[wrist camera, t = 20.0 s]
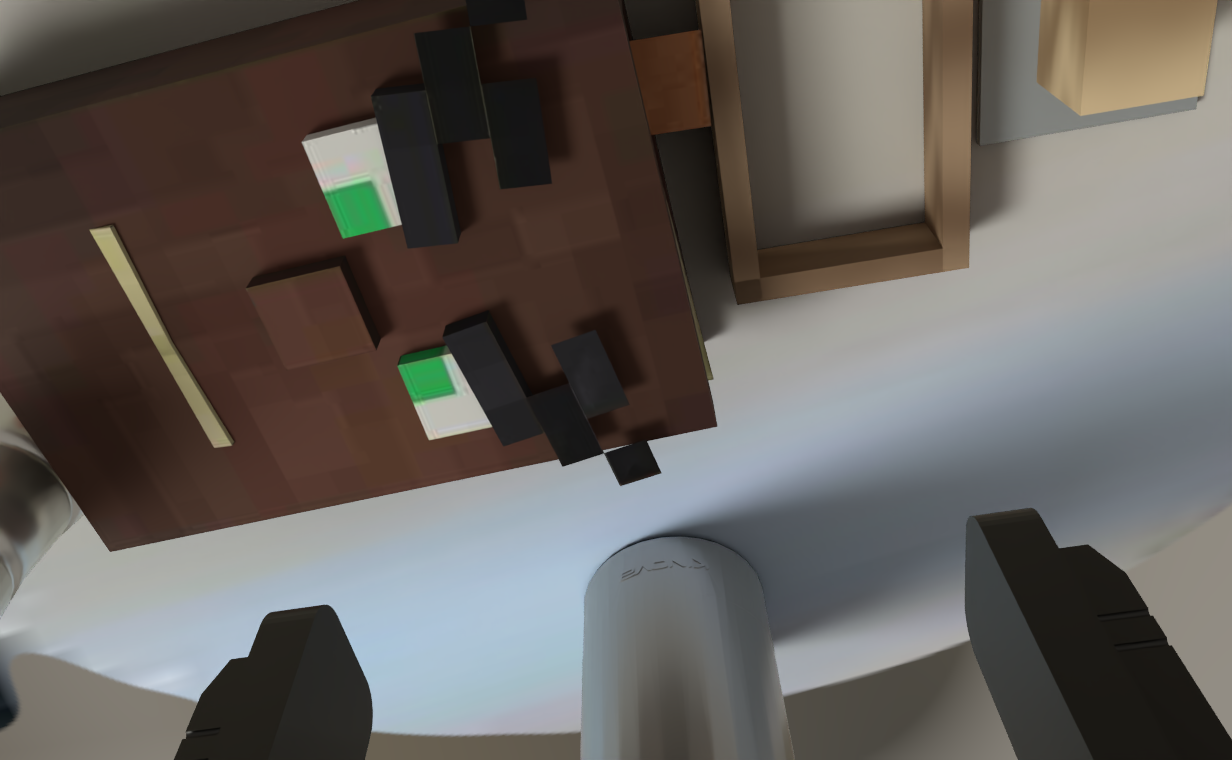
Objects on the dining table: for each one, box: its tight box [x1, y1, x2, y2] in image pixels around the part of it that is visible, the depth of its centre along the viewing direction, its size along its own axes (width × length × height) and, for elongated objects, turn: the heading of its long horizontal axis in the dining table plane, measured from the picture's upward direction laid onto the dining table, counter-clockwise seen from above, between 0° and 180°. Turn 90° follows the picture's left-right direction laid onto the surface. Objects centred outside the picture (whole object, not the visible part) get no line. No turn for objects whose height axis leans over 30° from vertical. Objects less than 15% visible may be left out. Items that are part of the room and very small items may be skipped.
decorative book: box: [0, 0, 717, 552], centre depth 37 cm, size 19×8×30 cm
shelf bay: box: [695, 0, 973, 305], centre depth 35 cm, size 17×9×2 cm, turn 10°
